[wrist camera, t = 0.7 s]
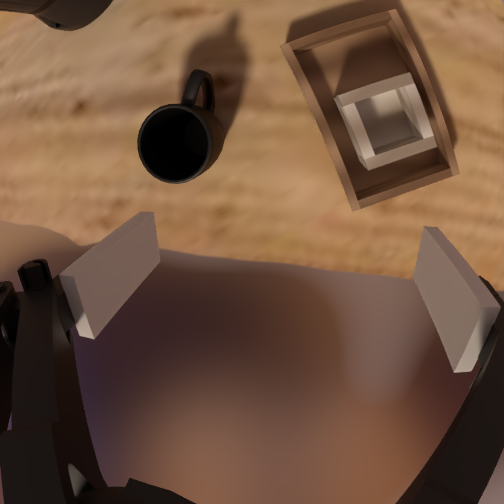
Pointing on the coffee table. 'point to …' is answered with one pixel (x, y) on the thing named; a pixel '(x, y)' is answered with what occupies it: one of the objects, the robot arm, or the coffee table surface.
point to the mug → (182, 135)
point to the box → (373, 107)
